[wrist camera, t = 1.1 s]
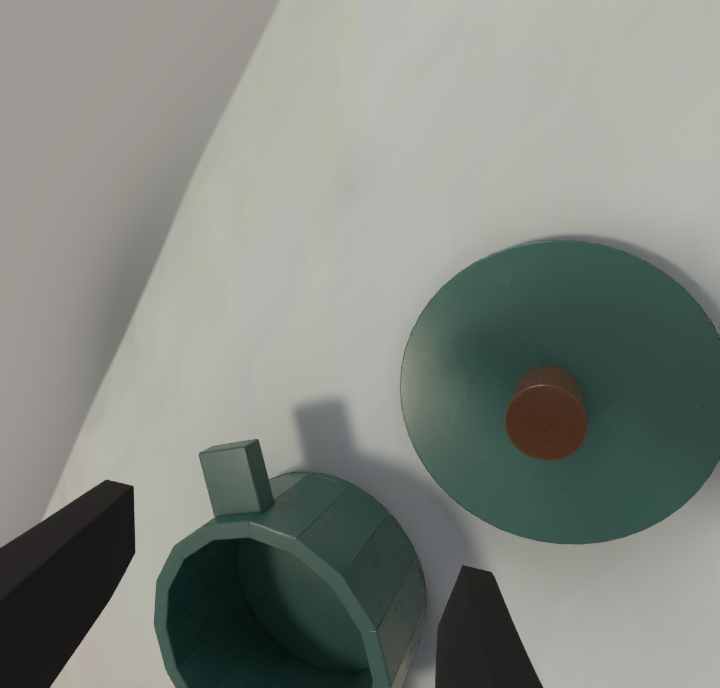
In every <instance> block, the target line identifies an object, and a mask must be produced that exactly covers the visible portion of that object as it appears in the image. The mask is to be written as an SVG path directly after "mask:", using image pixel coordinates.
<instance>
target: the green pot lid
mask: <svg viewBox="0 0 720 688" xmlns="http://www.w3.org/2000/svg"><path fill="white" fill-rule="evenodd" d="M400 391H401V404H402V410H403V416H404V421H405V424H406V427H407V430H408V434H409V437H410V439H411V441H412V443H413V446H414V448H415V450H416V452H417V454H418V456H419V458H420V459H421V461H422V463H423V464H424V466H425V468H426V469H427V470H428V472H429V473H430V474H431V476H432V477H433V478H434V480H435V481H436V482H437V483H438V485H439V486H440V487H441V488H442V489H443V490H444V491H445V492H446V493H447V494H448V495H449V496H450V497H451V498H452V499H454V500H455V501H456V502H457V503H458V504H460V505H461V506H462V507H463V508H465V509H466V510H467V511H469V512H470V513H472V514H473V515H475V516H477V517H478V518H480V519H481V520H483V521H485V522H487V523H489V524H491V525H493V526H495V527H497V528H499V529H501V530H504V531H506V532H509V533H512V534H514V535H517V536H520V537H524V538H528V539H532V540H536V541H541V542H549V543H557V544H589V543H599V542H605V541H610V540H614V539H618V538H623V537H626V536H629V535H631V534H634V533H637V532H640V531H642V530H645V529H647V528H649V527H651V526H653V525H654V524H656V523H658V522H660V521H662V520H664V519H665V518H667V517H668V516H670V515H671V514H672V513H674V512H675V511H677V510H678V509H679V508H681V507H682V506H683V505H684V504H685V503H686V502H687V501H688V500H689V499H690V498H691V497H692V496H693V495H695V494H696V493H697V492H698V490H699V489H700V488H701V487H702V485H703V484H704V483H705V481H706V480H707V479H708V477H709V476H710V475H711V473H712V472H713V470H714V468H715V466H716V464H717V462H718V461H719V459H720V337H719V335H718V333H717V331H716V329H715V327H714V325H713V323H712V322H711V320H710V319H709V317H708V316H707V315H706V313H705V312H704V310H703V309H702V307H701V306H700V305H699V304H698V303H697V302H696V300H695V299H694V298H693V297H692V296H691V295H690V294H689V293H688V292H687V291H686V290H685V289H684V288H683V287H682V286H681V285H680V284H678V283H677V282H676V281H675V280H673V279H672V278H671V277H670V276H669V275H667V274H666V273H664V272H663V271H661V270H659V269H658V268H656V267H655V266H653V265H651V264H650V263H648V262H646V261H644V260H642V259H640V258H638V257H635V256H633V255H631V254H629V253H626V252H624V251H621V250H617V249H614V248H611V247H607V246H604V245H599V244H593V243H587V242H581V241H563V240H553V241H541V242H532V243H528V244H523V245H518V246H513V247H510V248H507V249H504V250H502V251H499V252H496V253H493V254H491V255H489V256H487V257H485V258H483V259H481V260H479V261H477V262H475V263H473V264H471V265H470V266H468V267H467V268H465V269H464V270H462V271H461V272H459V273H458V274H457V275H455V276H454V277H453V278H452V279H451V280H450V281H448V282H447V283H446V284H445V285H444V286H443V287H442V288H441V289H440V290H439V291H438V292H437V293H436V295H435V296H434V297H433V298H432V299H431V300H430V301H429V303H428V304H427V306H426V307H425V309H424V310H423V312H422V313H421V315H420V316H419V318H418V320H417V322H416V324H415V326H414V328H413V330H412V332H411V334H410V337H409V340H408V343H407V346H406V349H405V353H404V358H403V362H402V368H401V380H400Z"/></svg>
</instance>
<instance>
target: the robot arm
mask: <svg viewBox="0 0 720 688" xmlns="http://www.w3.org/2000/svg"><path fill="white" fill-rule="evenodd" d="M134 554H135V524H134V487H133V486H131V485H127V484H123V483H118V482H114V481H110V480H105V481H103V482H102V483H100V484H99V485H97V486H96V487H94V488H92V489H91V490H89V491H88V492H86V493H85V494H83V495H82V496H80V497H79V498H77V499H76V500H74V501H73V502H71V503H70V504H68V505H67V506H65V507H63V508H62V509H60V510H59V511H57V512H56V513H54V514H53V515H51V516H50V517H48V518H47V519H45V520H44V521H42V522H41V523H39V524H37V525H36V526H34V527H33V528H31V529H30V530H28V531H26V532H25V533H23V534H22V535H20V536H19V537H17V538H15V539H14V540H12V541H11V542H9V543H8V544H6V545H4V546H3V547H1V548H0V688H50V686H51V685H52V683H53V682H54V681H55V679H56V678H57V676H58V675H59V673H60V672H61V670H62V669H63V667H64V666H65V665H66V663H67V662H68V660H69V659H70V657H71V656H72V654H73V653H74V652H75V650H76V649H77V647H78V646H79V644H80V643H81V641H82V640H83V639H84V637H85V636H86V634H87V633H88V631H89V630H90V628H91V627H92V625H93V624H94V622H95V621H96V620H97V618H98V617H99V615H100V614H101V612H102V611H103V609H104V608H105V606H106V605H107V603H108V602H109V600H110V599H111V597H112V595H113V593H114V591H115V590H116V588H117V586H118V584H119V582H120V581H121V579H122V577H123V575H124V573H125V571H126V569H127V567H128V565H129V564H130V562H131V560H132V558H133V556H134ZM435 684H436V688H543V687H542V685H541V682H540V680H539V678H538V676H537V674H536V672H535V670H534V668H533V666H532V664H531V661H530V659H529V657H528V655H527V653H526V650H525V648H524V646H523V644H522V642H521V639H520V637H519V635H518V632H517V630H516V628H515V626H514V623H513V621H512V619H511V616H510V614H509V611H508V609H507V607H506V604H505V602H504V599H503V597H502V594H501V592H500V589H499V587H498V584H497V582H496V579H495V577H494V575H493V574H492V572H489V571H485V570H481V569H476V568H472V567H468V566H464V565H463V566H462V568H461V571H460V573H459V576H458V578H457V581H456V583H455V586H454V588H453V591H452V593H451V596H450V598H449V601H448V603H447V606H446V608H445V611H444V613H443V616H442V618H441V621H440V623H439V625H438V636H437V653H436V677H435Z"/></svg>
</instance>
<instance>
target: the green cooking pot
mask: <svg viewBox="0 0 720 688" xmlns="http://www.w3.org/2000/svg"><path fill="white" fill-rule="evenodd" d="M199 458H200V462H201V466H202V469H203V473H204V477H205V481H206V485H207V489H208V493H209V497H210V501H211V505H212V508H213V512H214V516H215V518H213V519H212V520H210V521H209V522H208V523H206V524H205V525H203V526H202V527H200V528H199V529H197V530H196V531H195V532H193V533H192V534H190V535H189V536H187V537H186V538H184V539H183V540H182V541H180V542H179V543H177V544H176V545H175V546H174V547H173V549H172V551H171V553H170V555H169V557H168V559H167V561H166V563H165V565H164V567H163V569H162V571H161V573H160V575H159V577H158V579H157V582H156V596H155V613H154V627H155V631H156V635H157V639H158V643H159V646H160V650H161V654H162V658H163V662H164V665H165V669H166V670H167V673H168V675H169V677H170V679H171V680H172V682H173V684H174V686H175V687H176V688H402V686H403V684H404V681H405V678H406V676H407V673H408V671H409V668H410V665H411V663H412V660H413V658H414V655H415V652H416V650H417V647H418V644H419V641H420V635H421V631H422V627H423V623H424V619H425V611H426V588H425V583H424V577H423V572H422V569H421V566H420V563H419V560H418V557H417V555H416V553H415V550H414V548H413V546H412V544H411V542H410V540H409V539H408V537H407V535H406V534H405V532H404V530H403V529H402V528H401V526H400V525H399V524H398V522H397V521H396V520H395V518H394V517H393V516H392V515H391V514H390V513H389V512H388V511H387V510H386V509H385V508H384V507H383V506H382V505H381V504H380V503H379V502H378V501H376V500H375V499H374V498H373V497H372V496H370V495H369V494H367V493H366V492H364V491H363V490H361V489H360V488H358V487H356V486H354V485H352V484H351V483H349V482H347V481H344V480H341V479H339V478H336V477H333V476H329V475H325V474H321V473H311V472H298V473H290V474H285V475H282V476H279V477H276V478H272V479H270V480H269V479H268V475H267V471H266V467H265V463H264V459H263V455H262V451H261V447H260V443H259V440H258V439H254V440H248V441H242V442H235V443H229V444H223V445H217V446H212V447H210V448H208V449H206V450H204V451H202V452H200V453H199Z"/></svg>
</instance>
